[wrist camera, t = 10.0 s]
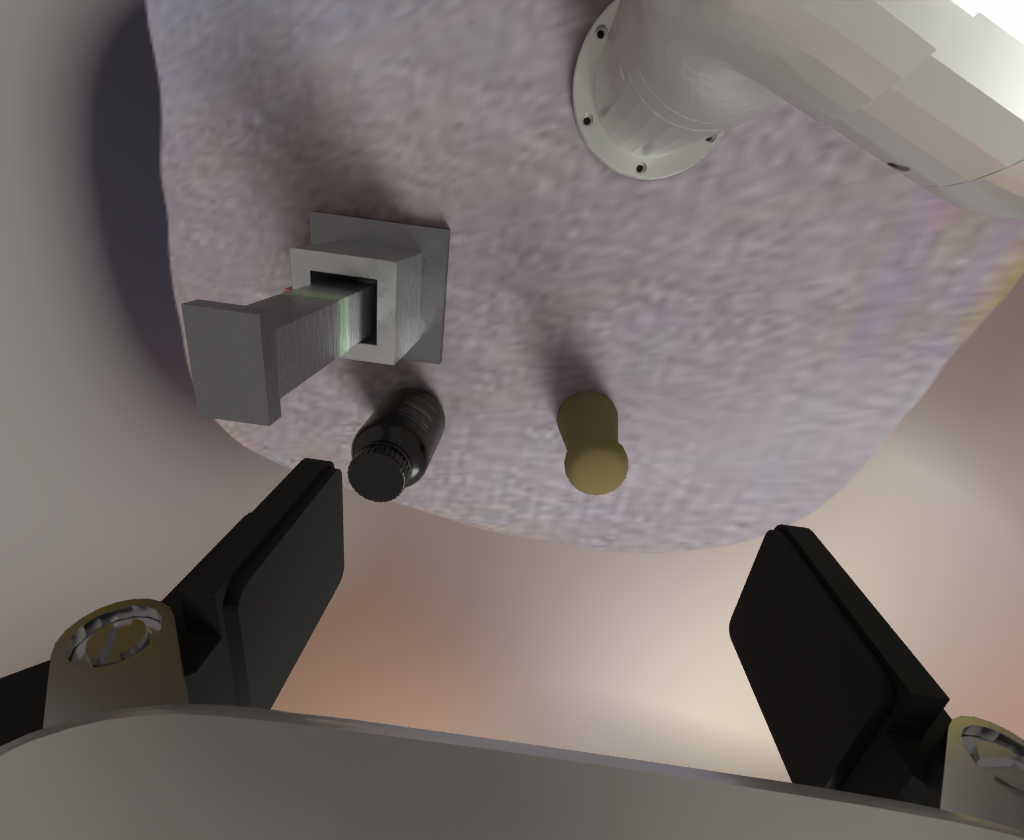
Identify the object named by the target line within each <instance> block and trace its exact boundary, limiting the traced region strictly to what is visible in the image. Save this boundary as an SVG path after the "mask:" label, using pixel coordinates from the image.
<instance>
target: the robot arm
mask: <svg viewBox="0 0 1024 840" xmlns="http://www.w3.org/2000/svg"><path fill="white" fill-rule="evenodd" d="M599 32H603V34H604V37H603V38H602V39H599V38H598V37H597V34H598V33H599ZM572 93H573V109H574V115H575V120H576V124H577V127H578V129H579V132H580V135H581V137H582V139H583V141H584V143H585V144H586V146H587V147H588V149H589V151H590V152H591V153H592V154H593V155H594V157H595V158H596V159H597V160H598V161H599V162H600V163H601V164H603V165H604V166H605V167H607V168H608V169H610V170H611V171H612V172H615V173H617V174H619V175H622V176H624V177H627V178H632V179H637V180H656V179H661V178H666V177H669V176H672V175H675V174H678V173H681V172H682V171H684V170H686V169H688V168H690V167H691V166H693V165H695V164H696V163H697V162H699V161H700V160H701V159H702V158H704V157H705V156H706V155H707V154H709V152H710V151H711V150H712V149H713V148H714V147H715V146H716V145H717V144H718V143H719V141H720V140H721V139H722V137H723V135H724V134H725V132H726V131H727V130H728V129H731V128H733V127H735V126H738V125H740V124H742V123H744V122H746V121H748V120H751V119H753V118H755V117H757V116H759V115H761V114H763V113H764V112H766V111H768V110H769V109H771V108H772V107H774V106H775V105H777V104H778V103H780V102H781V101H782V100H785V101H787V102H789V103H790V104H792V105H793V106H795V107H796V108H798V109H799V110H801V111H802V112H804V113H805V114H807V115H808V116H810V117H811V118H813V119H815V120H816V121H820V122H824V123H826V124H827V125H829V126H830V127H832V128H833V129H835V130H836V131H838V132H839V133H841V134H842V135H844V136H845V137H847V138H848V139H850V140H851V141H853V142H854V143H856V144H857V145H859V146H861V147H862V148H864V149H865V150H867V151H868V152H870V153H871V154H873V155H874V156H876V157H877V158H879V159H880V160H882V161H883V162H885V163H886V164H888V165H889V166H891V167H892V168H894V169H895V170H897V171H898V172H900V173H902V174H903V175H905V176H906V177H908V178H909V179H911V180H913V181H914V182H915V183H917V184H919V185H920V186H922V187H923V188H925V189H927V190H928V191H930V192H931V193H933V194H935V195H936V196H938V197H940V198H942V199H944V200H945V201H947V202H949V203H951V204H953V205H955V206H957V207H959V208H962V209H964V210H967V211H969V212H973V213H976V214H980V215H984V216H988V217H996V218H1007V219H1021V218H1024V0H614V1H613V2H612V3H611V4H609V5H608V7H607V8H606V9H605V10H604V11H603V12H602V14H601V15H600V16H599V17H598V18H597V19H596V21H595V22H594V24H593V26H592V27H591V29H590V31H589V32H588V34H587V36H586V38H585V40H584V43H583V45H582V48H581V50H580V53H579V55H578V59H577V63H576V67H575V72H574V78H573V86H572ZM585 118H589V120H590V124H589V125H585V124H584V119H585ZM709 137H710V140H709V141H707V140H706V139H707V138H709ZM638 165H641V166H642V171H641V172H637V170H636V168H637V166H638ZM342 497H343V496H342V472H341V470H340V469H335V467H334V464H333V463H332V462H331V461H324V460H317V459H310V458H305V459H303V460H302V461H301V462H300V463H299V464H298V465H297V466H296V467H295V468H294V469H293V470H292V471H291V472H290V473H289V474H288V475H287V476H286V477H285V478H284V479H283V481H282V482H281V483H280V484H279V485H278V486H277V487H276V488H275V489H274V490H273V491H272V492H271V493H270V494H269V495H268V496H267V497H266V498H265V499H264V500H263V501H262V502H261V503H260V504H259V505H258V506H257V508H256V509H255V510H254V511H253V512H251V513H249V514H247V515H246V516H245V517H243V518H242V519H241V521H239V522H238V523H237V524H236V525H235V526H234V528H233V529H232V530H231V531H230V532H229V533H228V534H227V535H226V536H225V537H224V538H223V539H222V540H221V541H220V542H219V543H218V544H217V545H216V546H215V547H214V548H213V549H212V550H211V551H210V552H209V553H208V554H207V555H206V556H205V557H204V558H203V559H202V561H200V562H199V563H198V564H197V565H196V567H194V569H193V570H192V571H191V572H190V573H189V574H188V575H187V576H186V577H185V578H184V579H183V580H182V581H181V582H180V583H179V584H178V585H177V586H176V587H175V588H174V589H173V590H172V591H171V592H170V593H169V594H168V595H167V596H166V597H165V598H164V599H163V600H162V601H157V600H153V599H131V600H126V601H121V602H116V603H113V604H110V605H108V606H105V607H102V608H100V609H97V610H95V611H93V612H92V613H90V614H88V615H87V616H84V617H83V618H81V619H79V620H78V621H77V622H76V623H74V624H73V625H72V626H71V627H69V628H68V629H67V630H66V631H65V632H64V633H63V634H62V635H61V637H60V638H59V639H58V640H57V642H56V643H55V645H54V648H53V651H52V653H51V658H50V660H49V661H46V662H44V663H41V664H38V665H35V666H33V667H30V668H27V669H24V670H22V671H19V672H16V673H14V674H11V675H8V676H6V677H3V678H0V840H1024V740H1022V739H1021V738H1020V737H1018V736H1017V735H1015V734H1013V733H1012V732H1010V731H1009V730H1006V729H1004V728H1002V727H1000V726H998V725H996V724H994V723H992V722H989V721H986V720H983V719H980V718H977V717H969V716H960V717H957V718H955V719H951V718H950V717H949V715H948V714H947V713H946V711H945V710H944V709H943V708H944V707H945V706H946V704H947V703H948V701H949V700H950V699H949V697H948V696H947V695H946V694H945V693H944V691H943V690H942V689H941V688H940V686H939V685H938V684H937V683H936V682H935V680H934V679H933V678H932V677H931V675H930V674H929V673H928V672H927V671H926V669H925V668H924V667H923V666H922V665H921V663H920V662H919V661H918V660H917V658H916V657H915V656H914V655H913V654H912V652H911V651H910V650H909V649H908V647H907V646H906V645H905V644H904V643H903V641H902V640H901V639H900V638H899V637H898V635H897V634H896V633H895V632H894V630H893V629H892V628H891V627H890V625H889V624H888V623H887V622H886V621H885V619H884V618H883V617H882V616H881V614H880V613H879V612H878V611H877V610H876V608H875V607H874V606H873V605H872V603H871V602H870V601H869V600H868V599H867V597H866V596H865V595H864V594H863V592H862V591H861V590H860V589H859V588H858V586H857V585H856V584H855V583H854V581H853V580H852V579H851V578H850V577H849V575H848V574H847V573H846V572H845V571H844V569H843V568H842V567H841V566H840V565H839V563H838V562H837V561H836V559H835V558H834V557H833V556H832V555H831V553H830V552H829V551H828V550H827V549H826V548H825V546H824V545H823V544H822V542H821V541H820V540H819V539H818V538H817V536H816V535H815V534H814V533H813V532H812V531H811V530H810V529H808V528H804V527H796V526H789V525H782V524H781V525H778V526H777V527H775V529H774V530H769V531H768V532H767V533H766V535H765V537H764V539H763V542H762V544H761V547H760V549H759V551H758V554H757V556H756V559H755V561H754V564H753V566H752V568H751V571H750V574H749V576H748V578H747V581H746V583H745V586H744V588H743V591H742V593H741V595H740V598H739V600H738V603H737V605H736V608H735V610H734V613H733V615H732V617H731V620H730V624H729V633H730V637H731V640H732V643H733V645H734V647H735V650H736V652H737V655H738V657H739V659H740V661H741V664H742V666H743V669H744V671H745V673H746V676H747V678H748V680H749V682H750V685H751V687H752V690H753V692H754V694H755V697H756V699H757V701H758V704H759V706H760V708H761V711H762V713H763V715H764V718H765V720H766V722H767V725H768V727H769V730H770V732H771V734H772V736H773V739H774V741H775V743H776V746H777V748H778V751H779V753H780V755H781V758H782V760H783V762H784V765H785V767H786V769H787V772H788V774H789V776H790V779H791V781H792V783H788V782H781V781H774V780H768V779H761V778H755V777H748V776H741V775H735V774H728V773H722V772H715V771H708V770H702V769H695V768H689V767H682V766H675V765H669V764H662V763H655V762H647V761H641V760H635V759H628V758H621V757H614V756H607V755H600V754H593V753H587V752H580V751H573V750H566V749H559V748H552V747H544V746H538V745H531V744H524V743H517V742H510V741H503V740H497V739H489V738H482V737H474V736H468V735H461V734H453V733H446V732H439V731H431V730H425V729H418V728H410V727H403V726H396V725H389V724H382V723H374V722H367V721H360V720H353V719H345V718H336V717H328V716H320V715H311V714H303V713H295V712H287V711H279V710H271V707H272V706H273V704H274V702H275V700H276V698H277V697H278V695H279V693H280V691H281V689H282V687H283V686H284V684H285V682H286V680H287V678H288V676H289V674H290V673H291V671H292V669H293V667H294V665H295V664H296V662H297V660H298V658H299V656H300V654H301V653H302V651H303V649H304V647H305V646H306V644H307V642H308V640H309V638H310V636H311V635H312V633H313V631H314V629H315V627H316V626H317V624H318V622H319V620H320V618H321V616H322V615H323V613H324V611H325V609H326V607H327V605H328V603H329V602H330V600H331V598H332V596H333V595H334V593H335V590H336V589H337V587H338V585H339V583H340V581H341V579H342V576H343V571H344V543H343V542H344V540H343V502H342V500H343V499H342Z"/></svg>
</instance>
